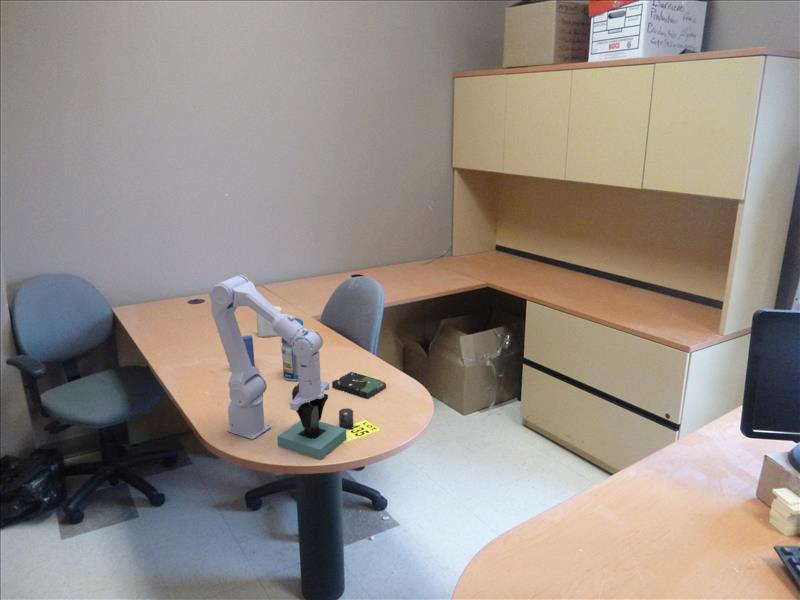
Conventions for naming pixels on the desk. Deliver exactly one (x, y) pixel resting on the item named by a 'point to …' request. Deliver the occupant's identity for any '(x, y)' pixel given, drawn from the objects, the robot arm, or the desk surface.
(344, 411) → the short pin
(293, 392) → the hand tool
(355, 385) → the disk drive
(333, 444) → the hole block
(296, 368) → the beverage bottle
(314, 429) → the tall pin
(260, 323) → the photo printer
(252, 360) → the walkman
